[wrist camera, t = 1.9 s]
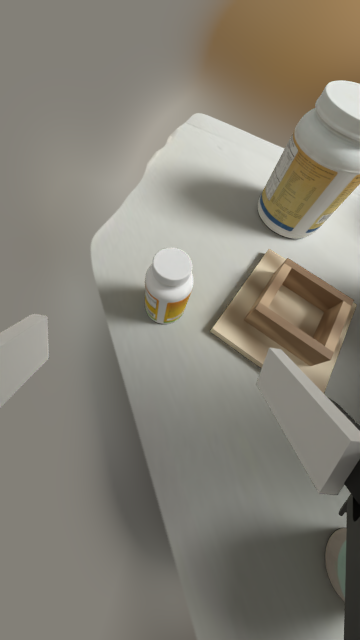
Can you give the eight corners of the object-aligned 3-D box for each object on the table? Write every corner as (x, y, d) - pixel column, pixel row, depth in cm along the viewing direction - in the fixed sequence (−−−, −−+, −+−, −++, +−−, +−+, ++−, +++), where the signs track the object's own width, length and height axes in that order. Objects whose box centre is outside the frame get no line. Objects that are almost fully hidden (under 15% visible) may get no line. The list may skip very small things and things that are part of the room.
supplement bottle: (187, 296, 32) (204, 250, 23) (178, 329, 30) (193, 293, 21) (151, 285, 32) (154, 235, 23) (139, 318, 29) (138, 276, 21)
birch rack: (265, 253, 37) (281, 232, 33) (350, 308, 35) (378, 293, 31) (209, 331, 30) (220, 317, 26) (313, 405, 28) (343, 403, 24)
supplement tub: (304, 196, 45) (386, 84, 30) (323, 243, 41) (432, 138, 25) (248, 191, 43) (306, 68, 28) (262, 240, 39) (341, 124, 23)
